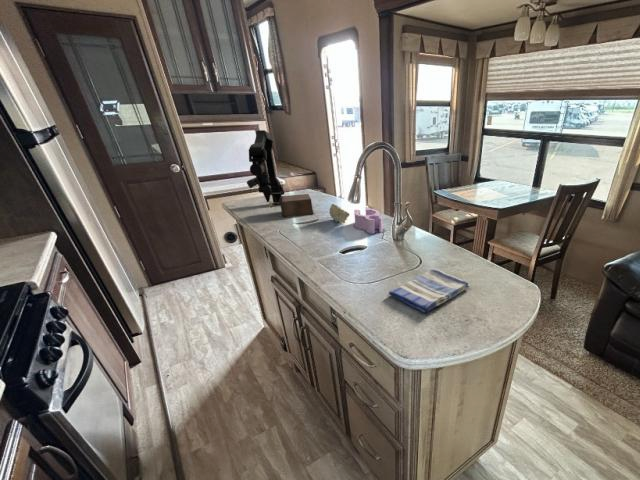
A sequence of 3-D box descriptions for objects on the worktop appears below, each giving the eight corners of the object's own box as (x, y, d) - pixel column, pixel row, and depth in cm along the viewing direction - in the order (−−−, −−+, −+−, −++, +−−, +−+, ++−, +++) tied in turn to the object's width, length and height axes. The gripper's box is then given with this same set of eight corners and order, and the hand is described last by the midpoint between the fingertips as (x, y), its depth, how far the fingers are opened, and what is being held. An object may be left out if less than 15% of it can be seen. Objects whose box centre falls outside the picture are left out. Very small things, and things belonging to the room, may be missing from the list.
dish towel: (470, 288, 112) (471, 281, 111) (426, 315, 98) (427, 308, 96) (432, 272, 122) (432, 265, 121) (387, 295, 108) (387, 288, 107)
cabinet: (285, 217, 180) (282, 201, 176) (283, 210, 190) (280, 196, 186) (313, 214, 185) (311, 199, 180) (310, 208, 195) (308, 193, 190)
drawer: (271, 216, 178) (269, 204, 175) (271, 210, 187) (268, 199, 184) (308, 212, 184) (306, 200, 181) (306, 207, 193) (304, 195, 190)
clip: (388, 230, 161) (388, 217, 158) (366, 235, 156) (365, 221, 153) (372, 219, 176) (371, 207, 172) (351, 223, 171) (349, 210, 167)
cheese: (332, 220, 181) (319, 209, 167) (339, 209, 181) (327, 197, 167) (352, 233, 177) (341, 223, 163) (360, 222, 177) (349, 211, 162)
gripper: (246, 170, 176) (253, 199, 184) (244, 176, 161) (252, 207, 169) (267, 169, 179) (273, 197, 187) (268, 175, 164) (274, 205, 173)
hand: (268, 201), depth 179 cm, fingers closed
